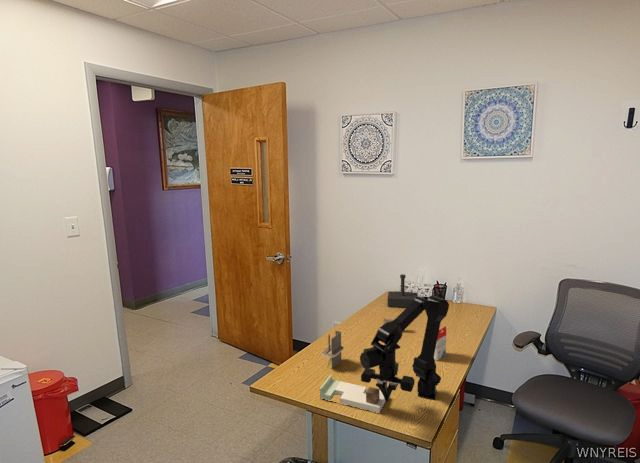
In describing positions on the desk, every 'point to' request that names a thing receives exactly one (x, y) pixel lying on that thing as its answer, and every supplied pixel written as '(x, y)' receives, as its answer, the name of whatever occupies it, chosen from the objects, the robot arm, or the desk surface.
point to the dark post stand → (401, 296)
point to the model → (387, 320)
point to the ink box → (440, 344)
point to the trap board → (350, 394)
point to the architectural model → (334, 350)
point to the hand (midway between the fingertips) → (387, 400)
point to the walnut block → (372, 395)
